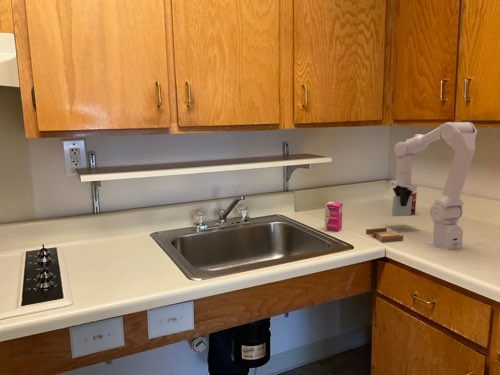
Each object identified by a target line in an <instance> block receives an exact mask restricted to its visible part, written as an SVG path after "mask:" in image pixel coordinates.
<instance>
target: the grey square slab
mask: <svg viewBox="0 0 500 375" xmlns="http://www.w3.org/2000/svg"><path fill="white" fill-rule="evenodd" d="M411 206H412V196H410V197H409V200H408V202H407V205H406V206H401V203H400V196H396V195H393V198H392V209H391V216H392V217H410V216H412V215H411Z"/></svg>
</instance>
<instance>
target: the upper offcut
mask: <svg viewBox="0 0 500 375" xmlns="http://www.w3.org/2000/svg"><path fill="white" fill-rule="evenodd" d="M377 236H378V237H380V238H381V237H390V236H400V233H398V232H396V231H394V232H389V231H387V232H384V233H377Z"/></svg>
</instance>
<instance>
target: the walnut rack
mask: <svg viewBox="0 0 500 375" xmlns="http://www.w3.org/2000/svg"><path fill="white" fill-rule="evenodd" d="M384 232H395V231H394V230H391V231H390V230H389V231H388V227H377V228H367V229H366V230H365V235H367V236H369V237H372V238H373V239H375V240H377V241H378V242H381V243H382V244H384V243H394V242H395V243H396V242H403V241H404V235H399V236H390V237H381V240H379V239H377V238H376V236H377V233H384Z"/></svg>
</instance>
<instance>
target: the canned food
mask: <svg viewBox="0 0 500 375" xmlns="http://www.w3.org/2000/svg"><path fill="white" fill-rule="evenodd" d="M417 193H418V192H417V191H413V192H412V194H411V195H410V196H412V206H411V216H413V215H415V213H416V206H417Z"/></svg>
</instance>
